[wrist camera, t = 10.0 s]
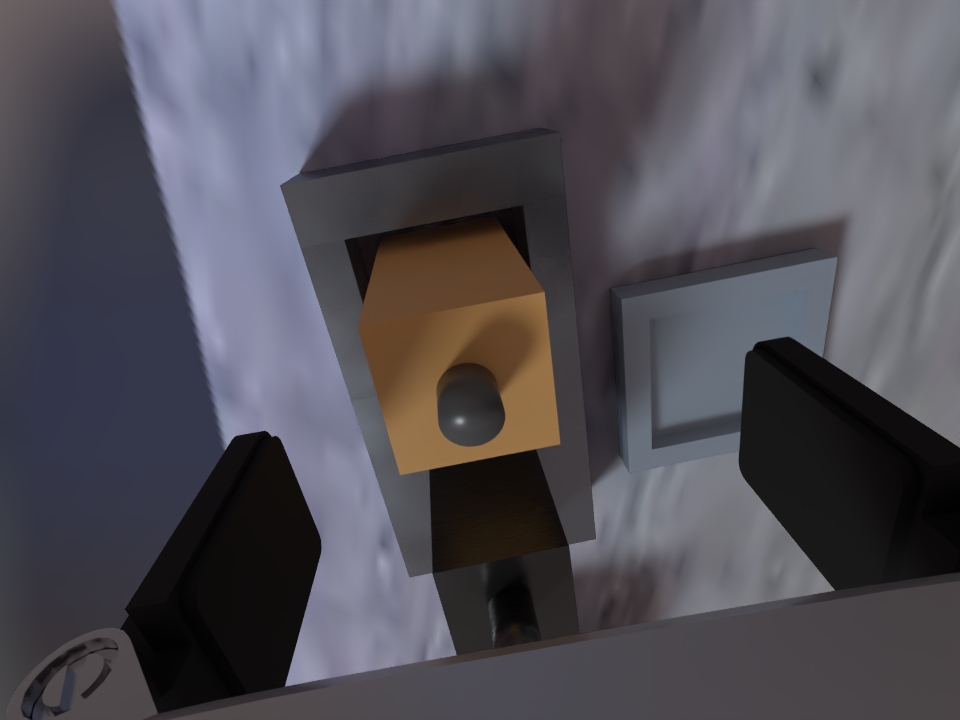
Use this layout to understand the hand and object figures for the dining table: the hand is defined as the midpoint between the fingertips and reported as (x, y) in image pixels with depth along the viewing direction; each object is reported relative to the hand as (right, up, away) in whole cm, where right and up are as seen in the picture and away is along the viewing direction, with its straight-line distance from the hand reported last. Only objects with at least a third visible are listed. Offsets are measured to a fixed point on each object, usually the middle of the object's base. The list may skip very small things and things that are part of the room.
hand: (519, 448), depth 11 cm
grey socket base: (-1, +2, +10) cm, 10 cm away
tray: (+9, +2, +11) cm, 14 cm away
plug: (-2, +5, +8) cm, 10 cm away
